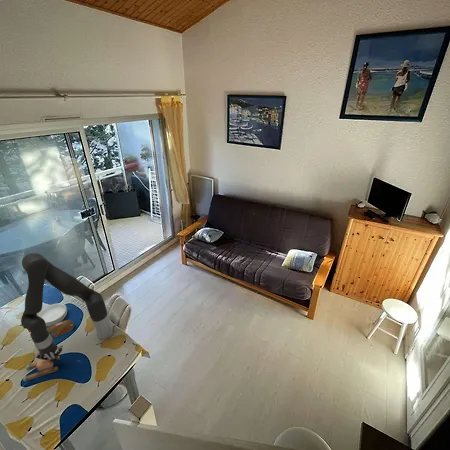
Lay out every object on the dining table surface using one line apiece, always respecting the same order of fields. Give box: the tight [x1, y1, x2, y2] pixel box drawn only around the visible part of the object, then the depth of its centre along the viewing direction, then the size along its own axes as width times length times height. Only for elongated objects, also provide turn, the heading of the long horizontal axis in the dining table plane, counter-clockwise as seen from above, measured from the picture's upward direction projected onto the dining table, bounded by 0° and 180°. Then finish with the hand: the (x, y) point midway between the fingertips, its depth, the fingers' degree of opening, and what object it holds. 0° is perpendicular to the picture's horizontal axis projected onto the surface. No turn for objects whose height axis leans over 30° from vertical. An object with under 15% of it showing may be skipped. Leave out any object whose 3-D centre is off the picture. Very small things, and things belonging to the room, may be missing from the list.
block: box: [36, 359, 54, 372], centre depth 140 cm, size 6×4×6 cm, turn 114°
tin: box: [47, 319, 75, 339], centre depth 159 cm, size 15×3×8 cm, turn 126°
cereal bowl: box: [37, 302, 68, 327], centre depth 168 cm, size 17×17×7 cm
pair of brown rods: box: [22, 355, 61, 383], centre depth 140 cm, size 16×9×2 cm, turn 113°
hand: (54, 360), depth 141 cm, fingers closed
